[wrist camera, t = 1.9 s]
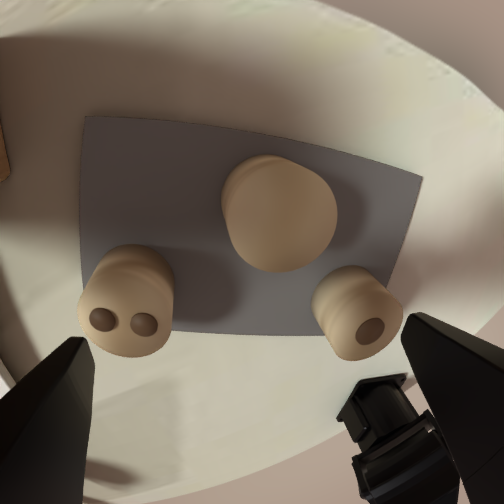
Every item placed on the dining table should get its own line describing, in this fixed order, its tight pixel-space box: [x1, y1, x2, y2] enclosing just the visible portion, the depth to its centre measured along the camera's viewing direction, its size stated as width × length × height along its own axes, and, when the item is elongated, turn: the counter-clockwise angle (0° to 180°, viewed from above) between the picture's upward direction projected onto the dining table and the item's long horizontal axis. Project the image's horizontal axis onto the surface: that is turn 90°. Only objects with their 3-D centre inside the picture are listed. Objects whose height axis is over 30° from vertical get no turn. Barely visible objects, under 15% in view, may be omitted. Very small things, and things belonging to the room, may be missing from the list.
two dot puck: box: [77, 244, 175, 358], centre depth 16 cm, size 5×5×4 cm
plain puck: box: [221, 154, 337, 273], centre depth 15 cm, size 5×5×4 cm
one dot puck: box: [311, 265, 403, 361], centre depth 19 cm, size 5×5×4 cm
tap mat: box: [79, 116, 422, 336], centre depth 18 cm, size 21×13×1 cm, turn 79°
